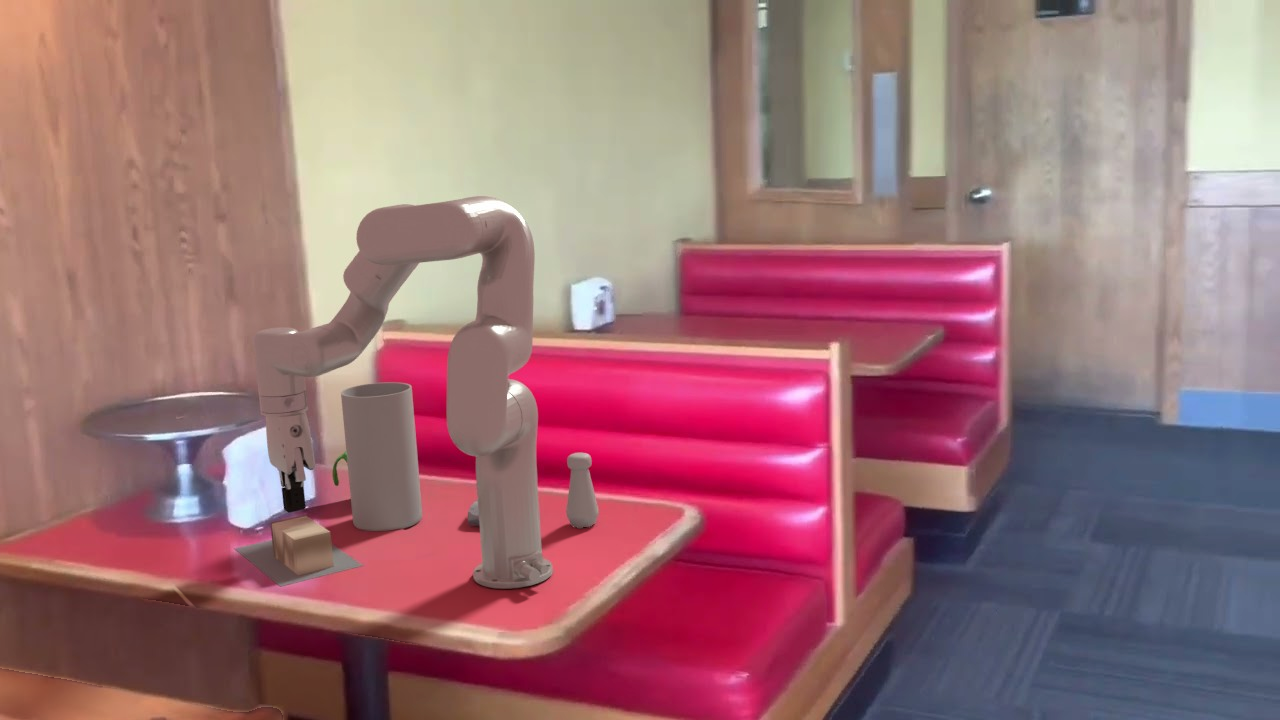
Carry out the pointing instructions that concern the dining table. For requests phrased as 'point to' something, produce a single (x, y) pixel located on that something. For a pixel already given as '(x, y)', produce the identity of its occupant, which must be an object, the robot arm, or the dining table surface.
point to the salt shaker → (581, 492)
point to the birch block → (302, 544)
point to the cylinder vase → (382, 456)
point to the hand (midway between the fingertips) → (294, 509)
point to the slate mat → (282, 574)
